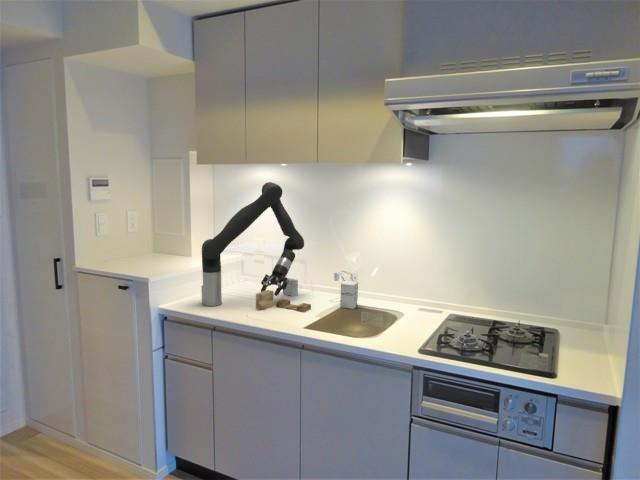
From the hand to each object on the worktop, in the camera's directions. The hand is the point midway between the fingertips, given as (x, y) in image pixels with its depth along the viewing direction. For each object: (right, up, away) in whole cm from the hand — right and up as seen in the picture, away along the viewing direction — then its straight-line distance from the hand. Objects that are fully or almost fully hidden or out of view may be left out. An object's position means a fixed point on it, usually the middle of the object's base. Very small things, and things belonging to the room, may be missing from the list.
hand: (268, 293), depth 235 cm
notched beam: (+13, -7, -1) cm, 14 cm away
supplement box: (+41, -7, +3) cm, 41 cm away
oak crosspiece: (-2, -7, -2) cm, 7 cm away
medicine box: (+9, -3, +24) cm, 26 cm away
